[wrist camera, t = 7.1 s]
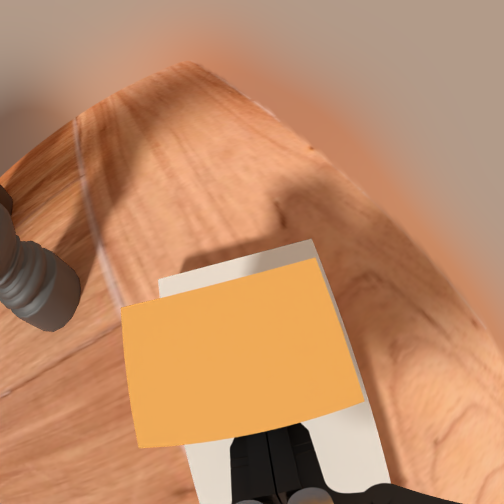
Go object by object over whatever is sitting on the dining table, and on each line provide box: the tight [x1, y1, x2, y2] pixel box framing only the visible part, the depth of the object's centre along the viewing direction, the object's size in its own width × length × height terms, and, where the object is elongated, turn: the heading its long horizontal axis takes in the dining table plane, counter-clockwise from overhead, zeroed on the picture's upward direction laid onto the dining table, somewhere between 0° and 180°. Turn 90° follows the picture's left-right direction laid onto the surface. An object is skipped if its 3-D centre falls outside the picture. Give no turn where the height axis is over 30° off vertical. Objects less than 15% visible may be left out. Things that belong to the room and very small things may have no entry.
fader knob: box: [121, 257, 365, 448], centre depth 10 cm, size 3×5×10 cm
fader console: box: [158, 239, 391, 504], centre depth 13 cm, size 28×10×3 cm, turn 13°
